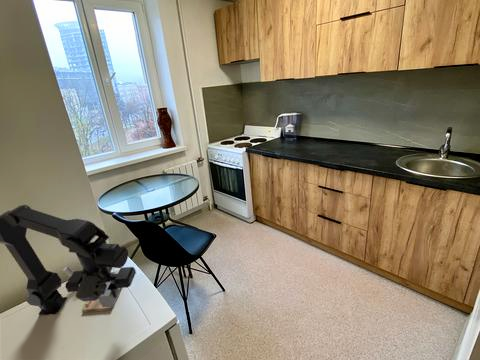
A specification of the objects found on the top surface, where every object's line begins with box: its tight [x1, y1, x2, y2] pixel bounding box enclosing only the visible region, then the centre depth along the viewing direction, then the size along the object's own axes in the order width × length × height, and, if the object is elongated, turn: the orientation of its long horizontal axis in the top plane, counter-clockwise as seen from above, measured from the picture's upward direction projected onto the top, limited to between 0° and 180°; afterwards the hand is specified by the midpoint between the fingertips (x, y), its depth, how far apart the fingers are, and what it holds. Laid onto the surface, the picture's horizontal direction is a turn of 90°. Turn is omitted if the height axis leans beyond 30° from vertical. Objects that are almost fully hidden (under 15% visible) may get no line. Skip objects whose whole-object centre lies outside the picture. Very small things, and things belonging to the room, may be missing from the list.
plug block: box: [98, 283, 121, 308], centre depth 79 cm, size 4×5×5 cm
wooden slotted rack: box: [81, 288, 122, 313], centre depth 91 cm, size 10×11×5 cm
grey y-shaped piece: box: [62, 266, 74, 278], centre depth 97 cm, size 7×2×8 cm, turn 84°
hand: (110, 297), depth 80 cm, fingers closed on plug block, 3 cm apart
